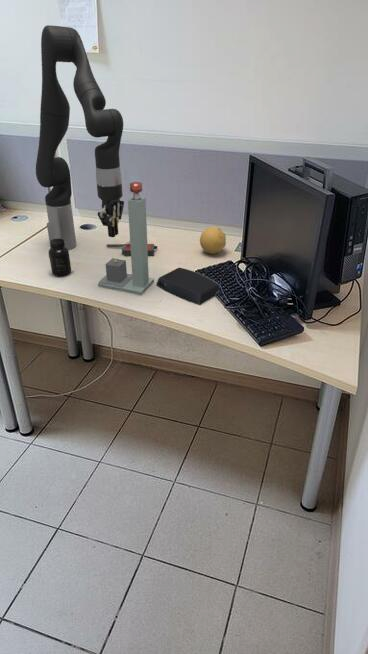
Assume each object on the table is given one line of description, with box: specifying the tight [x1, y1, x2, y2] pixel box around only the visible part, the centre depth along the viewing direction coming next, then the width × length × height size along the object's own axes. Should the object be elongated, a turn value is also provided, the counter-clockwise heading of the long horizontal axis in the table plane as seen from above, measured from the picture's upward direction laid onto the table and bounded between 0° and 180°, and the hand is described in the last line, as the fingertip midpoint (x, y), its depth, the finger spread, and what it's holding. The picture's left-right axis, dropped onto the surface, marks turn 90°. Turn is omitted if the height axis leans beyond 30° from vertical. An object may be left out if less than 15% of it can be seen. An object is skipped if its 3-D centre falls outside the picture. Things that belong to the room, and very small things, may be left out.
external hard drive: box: [155, 267, 221, 306], centre depth 158 cm, size 13×19×4 cm
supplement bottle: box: [48, 239, 72, 278], centre depth 164 cm, size 7×7×12 cm
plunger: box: [129, 181, 143, 200], centre depth 142 cm, size 4×4×8 cm
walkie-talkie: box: [106, 241, 158, 257], centre depth 182 cm, size 9×4×20 cm
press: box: [97, 195, 155, 296], centre depth 152 cm, size 16×10×30 cm, turn 69°
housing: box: [104, 257, 128, 283], centre depth 159 cm, size 5×5×7 cm
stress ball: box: [199, 226, 227, 255], centre depth 179 cm, size 10×10×10 cm
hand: (113, 235), depth 152 cm, fingers closed
